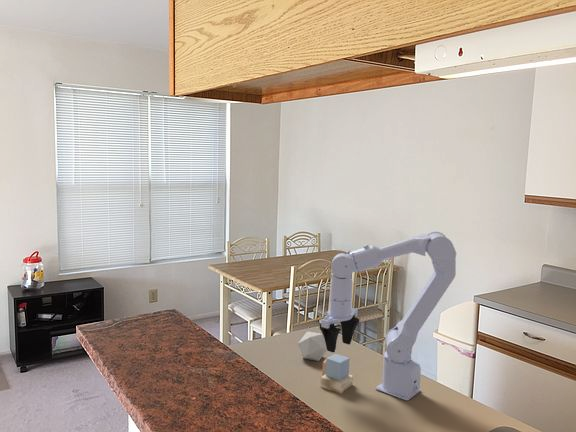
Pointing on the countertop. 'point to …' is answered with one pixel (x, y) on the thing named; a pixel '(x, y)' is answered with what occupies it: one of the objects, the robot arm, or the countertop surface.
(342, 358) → the blue block
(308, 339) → the die
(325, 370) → the terracotta block
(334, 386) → the beech base
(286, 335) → the countertop surface
